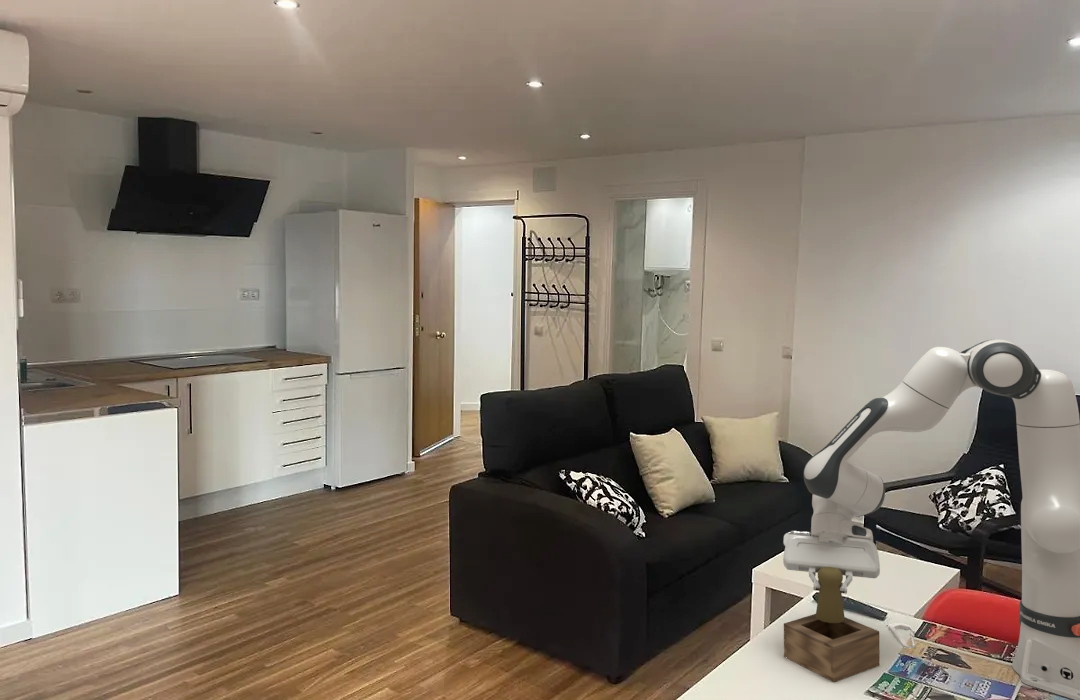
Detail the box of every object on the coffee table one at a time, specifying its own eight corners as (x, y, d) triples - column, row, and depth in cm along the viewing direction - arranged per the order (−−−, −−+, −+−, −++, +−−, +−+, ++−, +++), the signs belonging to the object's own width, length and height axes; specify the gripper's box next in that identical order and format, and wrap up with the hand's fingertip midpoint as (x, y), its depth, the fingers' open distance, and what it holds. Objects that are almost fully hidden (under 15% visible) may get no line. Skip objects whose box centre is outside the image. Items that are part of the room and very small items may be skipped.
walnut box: (879, 665, 172) (879, 631, 172) (834, 682, 166) (833, 646, 165) (828, 641, 185) (828, 610, 184) (784, 656, 178) (783, 623, 177)
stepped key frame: (927, 653, 180) (927, 646, 179) (904, 653, 180) (904, 645, 180) (906, 626, 193) (906, 619, 192) (885, 626, 193) (885, 619, 193)
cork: (849, 622, 172) (849, 573, 171) (821, 623, 172) (821, 573, 171) (838, 611, 178) (839, 563, 177) (811, 612, 178) (811, 564, 177)
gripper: (783, 523, 183) (779, 579, 175) (879, 530, 176) (880, 589, 168) (784, 536, 188) (781, 591, 180) (878, 544, 180) (879, 602, 172)
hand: (830, 590), depth 174 cm, fingers closed on cork, 4 cm apart
